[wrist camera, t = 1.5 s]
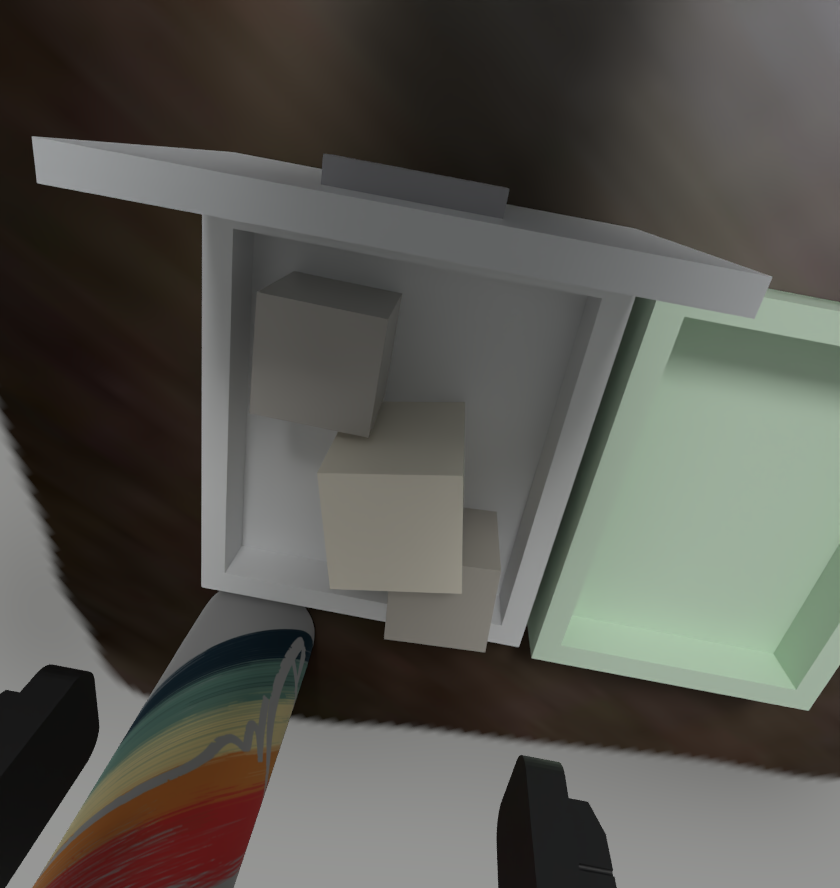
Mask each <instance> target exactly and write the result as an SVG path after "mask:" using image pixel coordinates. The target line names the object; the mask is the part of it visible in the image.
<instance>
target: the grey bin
mask: <svg viewBox="0 0 840 888" xmlns="http://www.w3.org/2000/svg"><path fill="white" fill-rule="evenodd" d="M293 271H296V272H301V273H306V274H311V275H316V276H320V277H325V278H330V279H335V280H340V281H345V282H349V283H354V284H359V285H364V286H369V287H373V288H378V289H383V290H388V291H393V292H398V293H402V300H401V305H400V311H399V317H398V323H397V329H396V334H395V340H394V346H393V352H392V358H391V364H390V369H389V375H388V381H387V387H386V393H385V397H384V399H383V402H465V460H464V508H471V509H479V510H487V511H495V512H497V522H498V536H499V550H500V563H501V574H500V579H499V584H498V589H497V594H496V599H495V604H494V610H493V615H492V620H491V625H490V630H489V635H488V640H487V641H489V642H494V643H499V644H505V645H510V646H515V647H519V646H520V643H521V640H522V637H523V634H524V631H525V628H526V625H527V622H528V619H529V616H530V613H531V610H532V607H533V604H534V601H535V598H536V595H537V592H538V589H539V586H540V583H541V580H542V577H543V574H544V571H545V568H546V565H547V562H548V558H549V555H550V552H551V549H552V546H553V543H554V540H555V537H556V534H557V531H558V528H559V525H560V522H561V519H562V516H563V513H564V510H565V507H566V504H567V501H568V498H569V495H570V492H571V489H572V486H573V483H574V480H575V477H576V474H577V471H578V468H579V465H580V462H581V459H582V456H583V453H584V450H585V447H586V444H587V441H588V438H589V435H590V432H591V429H592V426H593V423H594V420H595V417H596V414H597V411H598V408H599V405H600V402H601V399H602V396H603V393H604V390H605V387H606V384H607V381H608V378H609V375H610V372H611V369H612V366H613V363H614V360H615V357H616V354H617V351H618V348H619V345H620V342H621V339H622V336H623V333H624V330H625V327H626V324H627V321H628V318H629V315H630V312H631V309H632V306H633V303H634V300H635V297H636V296H630V295H625V294H620V293H615V292H609V291H604V290H599V289H593V288H588V287H583V286H578V285H572V284H567V283H562V282H557V281H551V280H546V279H541V278H535V277H530V276H525V275H520V274H514V273H509V272H504V271H499V270H493V269H488V268H483V267H477V266H472V265H467V264H462V263H456V262H451V261H446V260H441V259H435V258H430V257H425V256H419V255H414V254H409V253H404V252H398V251H393V250H388V249H383V248H377V247H372V246H367V245H361V244H356V243H351V242H346V241H340V240H335V239H330V238H324V237H319V236H314V235H309V234H303V233H298V232H293V231H288V230H282V229H277V228H272V227H266V226H261V225H256V224H251V223H245V222H240V221H235V220H230V219H224V218H219V217H214V216H208V215H203V214H202V567H201V587H204V588H209V589H214V590H219V591H225V592H230V593H235V594H241V595H246V596H251V597H256V598H262V599H267V600H272V601H278V602H283V603H288V604H293V605H299V606H304V607H309V608H314V609H320V610H325V611H330V612H336V613H341V614H346V615H351V616H357V617H362V618H367V619H373V620H378V621H383V622H386V612H387V601H388V591H369V590H341V589H330V585H329V576H328V567H327V558H326V549H325V541H324V532H323V523H322V514H321V505H320V496H319V487H318V478H317V472H318V470H319V468H320V466H321V464H322V462H323V460H324V458H325V456H326V454H327V452H328V450H329V449H330V447H331V445H332V443H333V441H334V439H335V437H336V435H337V433H338V431H333V430H328V429H323V428H318V427H313V426H309V425H304V424H299V423H294V422H289V421H284V420H279V419H275V418H270V417H265V416H260V415H255V414H250V413H249V410H250V393H251V377H252V360H253V344H254V327H255V311H256V294H257V292H258V291H259V290H261V289H263V288H265V287H266V286H268V285H270V284H272V283H274V282H275V281H277V280H279V279H281V278H282V277H284V276H286V275H288V274H290V273H291V272H293Z"/></svg>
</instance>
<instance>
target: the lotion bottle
mask: <svg viewBox="0 0 840 888" xmlns="http://www.w3.org/2000/svg"><path fill="white" fill-rule="evenodd" d="M313 643H314V625H313V621H312V618H311V616H310V614H309V613H308V611H307V610H306V608H305V607H304V606H299V605H293V604H288V603H283V602H278V601H272V600H267V599H262V598H256V597H251V596H246V595H241V594H235V593H230V592H225V591H219V592H218V593H217V594H216V595H215V596H213V597H212V599H211V600H210V601H209V602H208V604H207V605H206V606H205V608H204V609H203V611H202V612H201V614H200V616H199V617H198V619H197V620H196V622H195V623H194V625H193V627H192V628H191V630H190V631H189V633H188V635H187V636H186V638H185V640H184V641H183V643H182V644H181V646H180V648H179V649H178V651H177V653H176V654H175V656H174V657H173V659H172V661H171V662H170V664H169V666H168V667H167V669H166V671H165V672H164V674H163V675H162V677H161V679H160V680H159V682H158V684H157V685H156V687H155V688H154V690H153V692H152V693H151V695H150V697H149V698H148V700H147V702H146V703H145V705H144V707H143V708H142V710H141V711H140V713H139V715H138V716H137V718H136V720H135V721H134V723H133V724H132V726H131V728H130V730H129V731H128V733H127V734H126V736H125V738H124V739H123V741H122V742H121V744H120V746H119V747H118V749H117V751H116V752H115V754H114V756H113V757H112V759H111V760H110V762H109V764H108V765H107V767H106V769H105V770H104V772H103V773H102V775H101V777H100V778H99V780H98V782H97V783H96V785H95V786H94V788H93V790H92V791H91V793H90V795H89V796H88V798H87V800H86V801H85V803H84V804H83V806H82V808H81V810H80V811H79V812H78V814H77V816H76V817H75V819H74V821H73V822H72V824H71V826H70V827H69V829H68V830H67V832H66V834H65V835H64V837H63V839H62V840H61V842H60V844H59V845H58V847H57V849H56V850H55V852H54V853H53V855H52V857H51V858H50V860H49V861H48V863H47V865H46V866H45V868H44V870H43V871H42V873H41V875H40V876H39V878H38V879H37V881H36V883H35V884H34V886H33V888H234V884H235V882H236V878H237V876H238V873H239V869H240V867H241V864H242V861H243V857H244V854H245V852H246V849H247V846H248V843H249V840H250V837H251V834H252V831H253V828H254V824H255V822H256V818H257V815H258V813H259V810H260V807H261V804H262V800H263V798H264V794H265V791H266V788H267V785H268V782H269V779H270V776H271V773H272V770H273V767H274V764H275V761H276V758H277V755H278V752H279V749H280V746H281V743H282V740H283V737H284V734H285V731H286V728H287V725H288V722H289V719H290V716H291V713H292V710H293V707H294V704H295V701H296V698H297V695H298V692H299V689H300V686H301V683H302V680H303V677H304V674H305V671H306V668H307V665H308V661H309V658H310V655H311V651H312V648H313Z"/></svg>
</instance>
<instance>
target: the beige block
mask: <svg viewBox="0 0 840 888" xmlns="http://www.w3.org/2000/svg"><path fill="white" fill-rule="evenodd" d="M464 460H465V402H382V404H381V407H380V410H379V412H378V415H377V417H376V420H375V422H374V425H373V428H372V430H371V433H370V435H369V438H367V437H362V436H357V435H352V434H348V433H343V432H338V433H337V435H336V437H335V439H334V441H333V443H332V445H331V447H330V449H329V450H328V452H327V454H326V456H325V458H324V460H323V462H322V464H321V466H320V468H319V470H318V472H317V478H318V487H319V496H320V505H321V514H322V523H323V532H324V541H325V549H326V558H327V567H328V576H329V585H330V589H341V590H369V591H396V592H424V593H452V594H462V565H463V522H464Z"/></svg>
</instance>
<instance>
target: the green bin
mask: <svg viewBox="0 0 840 888" xmlns="http://www.w3.org/2000/svg"><path fill="white" fill-rule="evenodd" d="M527 626H528V635H529V643H530V651H531V658H533V659H538V660H544V661H549V662H554V663H559V664H565V665H570V666H575V667H580V668H586V669H591V670H596V671H602V672H607V673H612V674H617V675H623V676H628V677H633V678H639V679H644V680H649V681H654V682H660V683H665V684H670V685H675V686H681V687H686V688H691V689H697V690H702V691H707V692H712V693H718V694H723V695H728V696H734V697H739V698H744V699H749V700H755V701H760V702H765V703H771V704H776V705H781V706H786V707H792V708H797V709H802V710H807V711H809V709H810V708H811V706H812V705H813V703H814V702H815V700H816V699H817V697H818V696H819V694H820V693H821V692H822V690H823V689H824V687H825V686H826V684H827V683H828V681H829V680H830V678H831V677H832V675H833V674H834V672H835V671H836V669H837V668H838V667H839V665H840V302H837V301H831V300H826V299H821V298H816V297H810V296H805V295H800V294H795V293H789V292H784V291H779V290H773V289H767V291H766V293H765V296H764V298H763V300H762V303H761V305H760V307H759V310H758V312H757V314H756V317H755V319H752V318H746V317H741V316H736V315H731V314H725V313H720V312H715V311H710V310H704V309H699V308H694V307H688V306H683V305H678V304H673V303H667V302H662V301H657V300H652V299H646V298H641V297H635V300H634V303H633V306H632V309H631V312H630V315H629V318H628V321H627V324H626V327H625V330H624V333H623V336H622V339H621V342H620V345H619V348H618V351H617V354H616V357H615V360H614V363H613V366H612V369H611V372H610V375H609V378H608V381H607V384H606V387H605V390H604V393H603V396H602V399H601V402H600V405H599V408H598V411H597V414H596V417H595V420H594V423H593V426H592V429H591V432H590V435H589V438H588V441H587V444H586V447H585V450H584V453H583V456H582V459H581V462H580V465H579V468H578V471H577V474H576V477H575V480H574V483H573V486H572V489H571V492H570V495H569V498H568V501H567V504H566V507H565V510H564V513H563V516H562V519H561V522H560V525H559V528H558V531H557V534H556V537H555V540H554V543H553V546H552V549H551V552H550V555H549V558H548V562H547V565H546V568H545V571H544V574H543V577H542V580H541V583H540V586H539V589H538V592H537V595H536V598H535V601H534V604H533V607H532V610H531V613H530V616H529V619H528V622H527Z"/></svg>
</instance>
